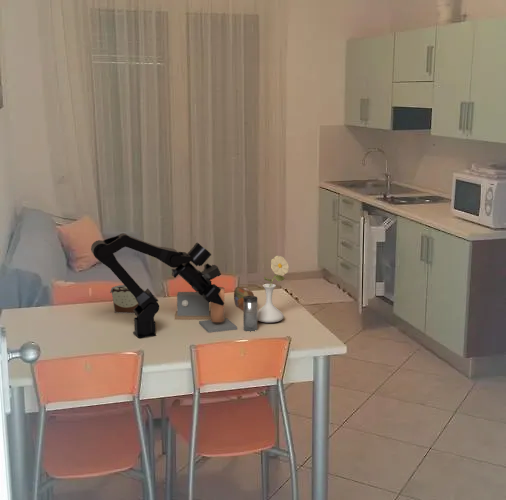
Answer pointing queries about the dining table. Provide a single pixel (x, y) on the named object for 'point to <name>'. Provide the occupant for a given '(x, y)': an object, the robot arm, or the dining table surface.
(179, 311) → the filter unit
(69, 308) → the dining table surface
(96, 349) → the dining table surface
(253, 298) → the cylinder
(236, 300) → the tin
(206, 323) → the mat
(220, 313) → the cylinder
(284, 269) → the flower in vase
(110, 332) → the dining table surface
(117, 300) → the food container
